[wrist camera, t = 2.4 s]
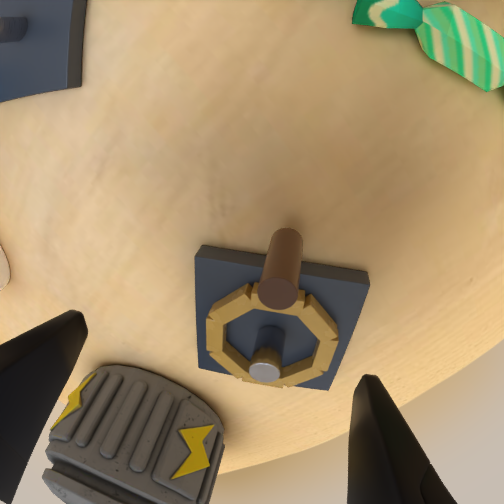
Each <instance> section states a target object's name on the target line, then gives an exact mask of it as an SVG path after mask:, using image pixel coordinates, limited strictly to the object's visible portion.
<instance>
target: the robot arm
mask: <svg viewBox="0 0 504 504" xmlns="http://www.w3.org/2000/svg"><path fill="white" fill-rule="evenodd" d="M87 336H88V328H87V325H86V322H85V318H84V315H83V314H82V313H81V312H79V311H76V310H69V311H67V312H65V313H63V314H61V315H59V316H57V317H55V318H53V319H51V320H49V321H47V322H45V323H43V324H41V325H39V326H37V327H35V328H33V329H31V330H29V331H27V332H25V333H23V334H21V335H19V336H17V337H15V338H13V339H11V340H9V341H7V342H5V343H3V344H1V345H0V500H1V501H3V502H5V503H6V504H11V503H12V501H13V498H14V495H15V493H16V490H17V488H18V485H19V483H20V480H21V478H22V475H23V473H24V471H25V468H26V466H27V462H28V461H29V459H30V456H31V454H32V452H33V449H34V447H35V445H36V443H37V441H38V439H39V436H40V434H41V432H42V430H43V428H44V426H45V424H46V422H47V420H48V418H49V415H50V413H51V412H52V409H53V408H54V406H55V403H56V402H57V400H58V398H59V396H60V394H61V392H62V390H63V388H64V386H65V384H66V383H67V381H68V379H69V377H70V375H71V373H72V371H73V369H74V366H75V364H76V362H77V359H78V357H79V354H80V352H81V350H82V347H83V345H84V343H85V341H86V338H87ZM348 446H349V447H348V452H349V453H348V494H347V504H457V502H456V501H455V500H454V499H453V497H452V496H451V494H450V493H449V492H448V490H447V488H446V487H445V486H444V484H443V482H442V481H441V479H440V478H439V476H438V474H437V473H436V471H435V469H434V468H433V466H432V464H430V461H429V459H428V458H427V456H426V454H425V452H424V451H423V449H422V448H421V446H420V444H419V443H418V441H417V439H416V437H415V436H414V434H413V433H412V431H411V429H410V427H409V426H408V424H407V423H406V421H405V419H404V418H403V416H402V414H401V413H400V411H399V410H398V408H397V406H396V405H395V403H394V401H393V400H392V398H391V397H390V395H389V393H388V392H387V390H386V389H385V387H384V385H383V384H382V382H381V381H380V379H379V378H378V376H376V375H369V374H365V375H363V376H362V378H361V380H360V382H359V383H358V385H357V387H356V389H355V391H354V395H353V403H352V414H351V423H350V432H349V445H348Z"/></svg>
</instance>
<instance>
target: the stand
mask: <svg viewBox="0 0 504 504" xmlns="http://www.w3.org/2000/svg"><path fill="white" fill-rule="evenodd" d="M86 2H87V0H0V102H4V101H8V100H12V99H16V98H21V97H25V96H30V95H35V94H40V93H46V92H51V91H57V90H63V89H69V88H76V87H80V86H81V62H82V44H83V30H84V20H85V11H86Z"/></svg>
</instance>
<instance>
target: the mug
mask: <svg viewBox="0 0 504 504" xmlns="http://www.w3.org/2000/svg"><path fill="white" fill-rule="evenodd" d="M9 279H10V269H9V264H8V261H7V258H6V255H5V253H4V251H3V249H2V247H1V245H0V291H1V290H2V289H3V288H4V287H5V286H6V285H7V284H8V282H9Z"/></svg>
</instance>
